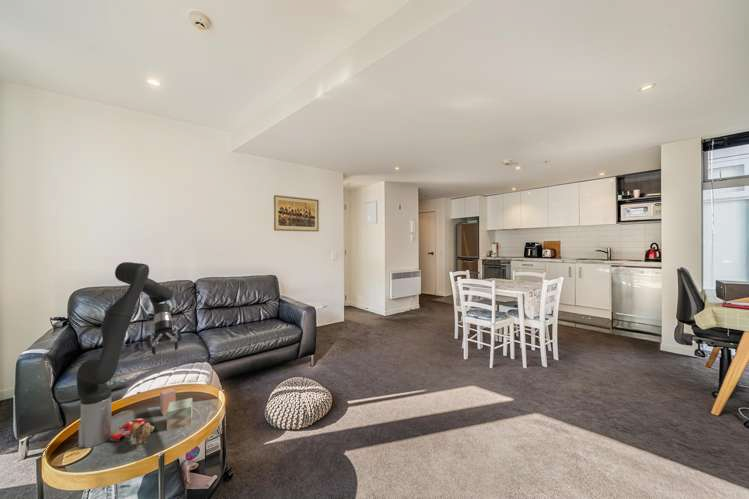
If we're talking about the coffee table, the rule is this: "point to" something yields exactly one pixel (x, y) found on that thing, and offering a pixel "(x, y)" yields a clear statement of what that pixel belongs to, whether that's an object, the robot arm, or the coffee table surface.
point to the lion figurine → (140, 432)
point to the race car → (125, 430)
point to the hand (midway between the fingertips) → (165, 352)
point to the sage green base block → (179, 413)
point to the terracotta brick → (166, 399)
